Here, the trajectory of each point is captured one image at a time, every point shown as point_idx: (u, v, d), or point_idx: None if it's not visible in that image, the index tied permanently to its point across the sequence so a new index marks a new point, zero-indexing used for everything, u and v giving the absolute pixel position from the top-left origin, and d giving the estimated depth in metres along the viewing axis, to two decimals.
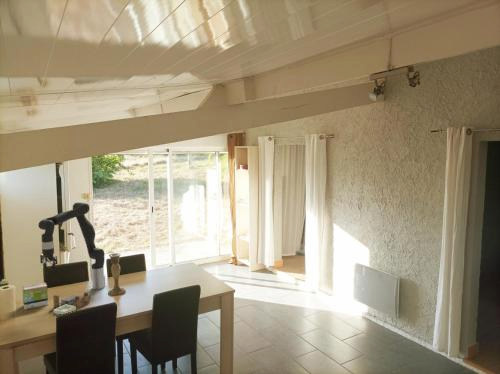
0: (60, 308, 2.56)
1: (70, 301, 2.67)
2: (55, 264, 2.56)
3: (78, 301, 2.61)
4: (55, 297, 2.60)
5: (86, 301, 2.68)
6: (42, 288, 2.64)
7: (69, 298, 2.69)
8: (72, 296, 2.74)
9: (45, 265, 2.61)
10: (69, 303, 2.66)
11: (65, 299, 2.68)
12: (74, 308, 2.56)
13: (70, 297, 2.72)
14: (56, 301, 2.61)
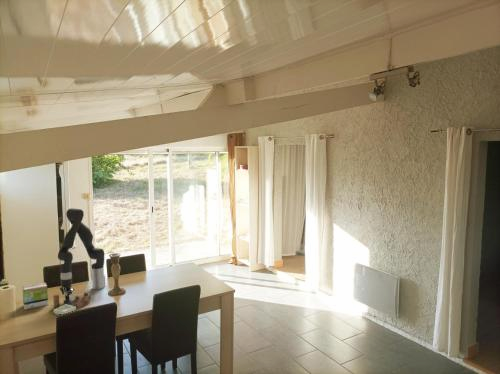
0: (60, 308, 2.56)
1: (73, 302, 2.66)
2: (69, 294, 2.70)
3: (78, 301, 2.61)
4: (55, 297, 2.60)
5: (86, 301, 2.68)
6: (42, 288, 2.64)
7: (71, 299, 2.68)
8: (74, 296, 2.73)
9: None
10: (72, 304, 2.65)
11: (68, 300, 2.67)
12: (74, 308, 2.56)
13: (72, 298, 2.71)
14: (56, 301, 2.61)
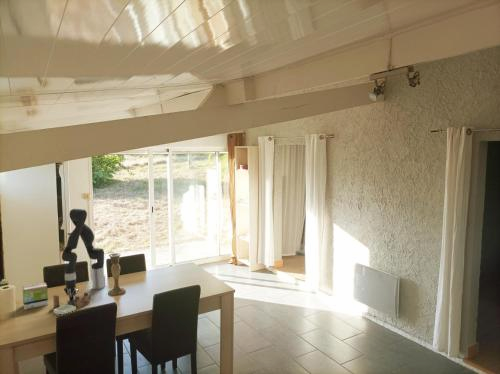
0: (60, 308, 2.56)
1: None
2: (73, 295, 2.68)
3: (78, 301, 2.61)
4: (55, 297, 2.60)
5: (86, 301, 2.68)
6: (42, 288, 2.64)
7: None
8: None
9: None
10: None
11: (72, 301, 2.65)
12: (74, 308, 2.56)
13: None
14: (56, 301, 2.61)
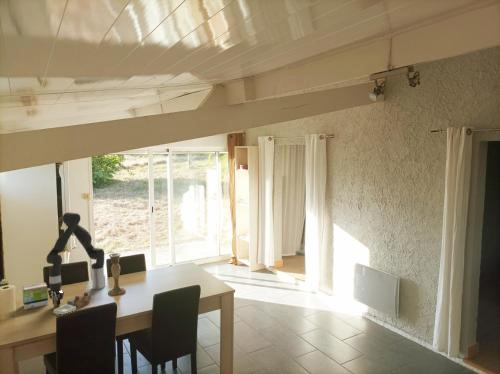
0: (60, 308, 2.56)
1: None
2: (60, 299, 2.60)
3: (78, 301, 2.61)
4: (55, 297, 2.60)
5: (86, 301, 2.68)
6: (42, 288, 2.64)
7: None
8: None
9: None
10: None
11: (72, 300, 2.65)
12: (74, 308, 2.56)
13: None
14: (56, 301, 2.61)
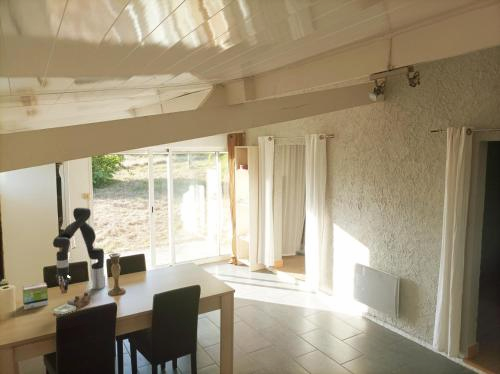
0: (60, 308, 2.56)
1: None
2: None
3: (78, 301, 2.61)
4: (62, 282, 2.52)
5: (86, 301, 2.68)
6: (42, 288, 2.64)
7: None
8: None
9: None
10: None
11: (72, 300, 2.65)
12: (74, 308, 2.56)
13: None
14: None
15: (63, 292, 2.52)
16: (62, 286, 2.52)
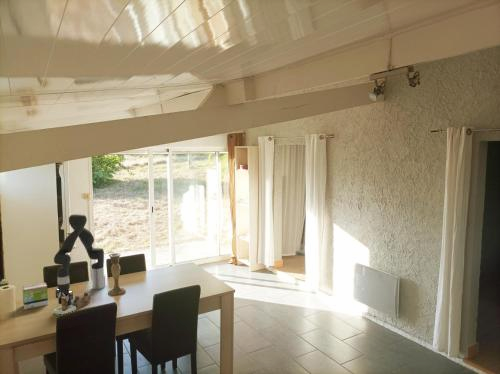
0: (60, 308, 2.56)
1: None
2: (71, 299, 2.51)
3: (78, 301, 2.61)
4: (63, 300, 2.53)
5: (86, 301, 2.68)
6: (42, 288, 2.64)
7: None
8: None
9: (60, 300, 2.56)
10: None
11: (72, 300, 2.65)
12: (74, 308, 2.56)
13: None
14: (65, 304, 2.53)
15: (64, 310, 2.53)
16: (63, 304, 2.53)
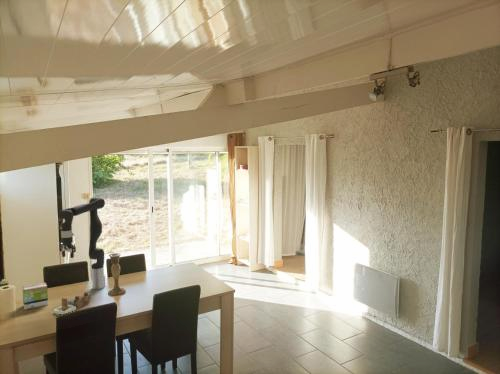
0: (60, 308, 2.56)
1: None
2: None
3: (78, 301, 2.61)
4: (63, 300, 2.53)
5: (86, 301, 2.68)
6: (42, 288, 2.64)
7: None
8: None
9: (64, 253, 2.75)
10: None
11: (72, 300, 2.65)
12: (74, 308, 2.56)
13: None
14: (65, 304, 2.53)
15: (64, 310, 2.53)
16: (63, 304, 2.53)
